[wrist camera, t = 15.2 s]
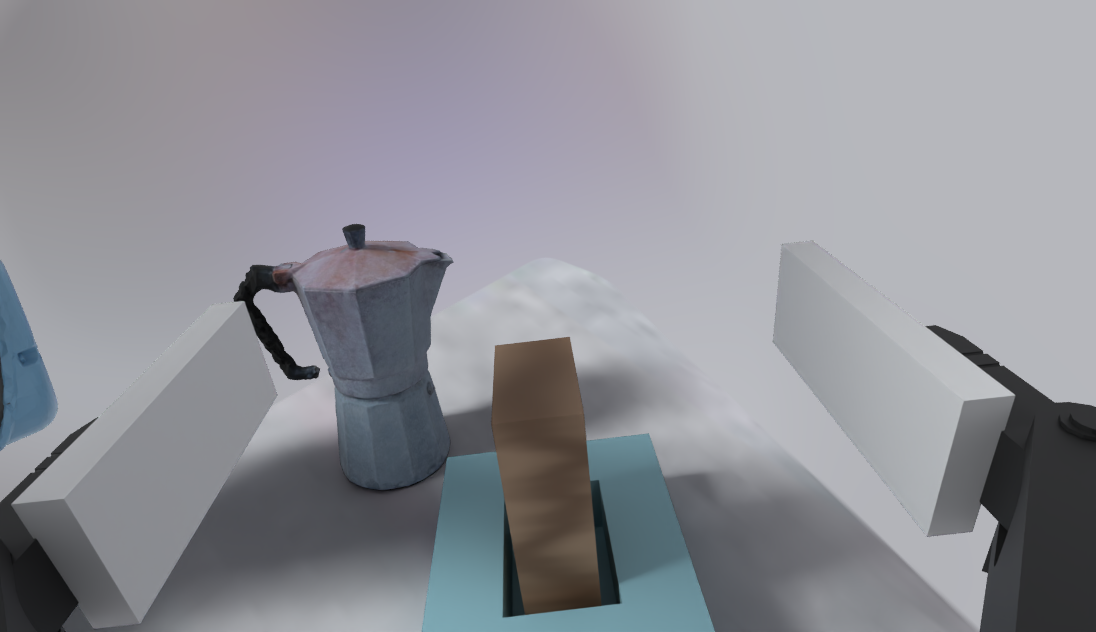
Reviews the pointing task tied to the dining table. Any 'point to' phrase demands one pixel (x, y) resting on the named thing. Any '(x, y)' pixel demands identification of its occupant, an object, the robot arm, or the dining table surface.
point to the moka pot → (368, 350)
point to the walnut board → (545, 474)
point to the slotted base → (621, 542)
